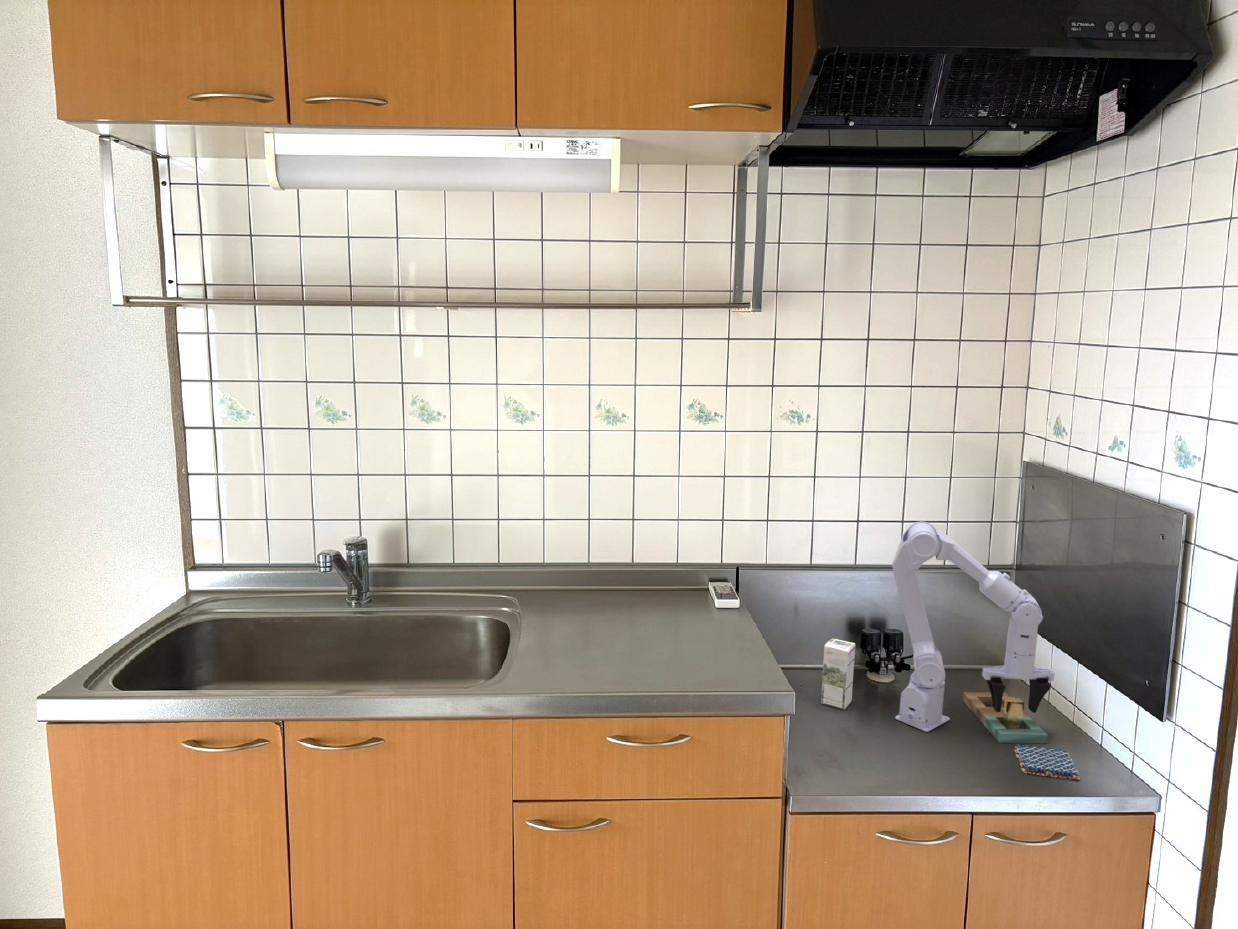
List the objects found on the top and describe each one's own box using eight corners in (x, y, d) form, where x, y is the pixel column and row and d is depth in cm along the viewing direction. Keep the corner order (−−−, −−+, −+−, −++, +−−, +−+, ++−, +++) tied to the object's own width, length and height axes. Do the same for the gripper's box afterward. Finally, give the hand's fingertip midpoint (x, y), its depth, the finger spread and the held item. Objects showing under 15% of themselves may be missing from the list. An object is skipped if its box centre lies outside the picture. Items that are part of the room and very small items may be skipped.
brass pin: (1016, 737, 182) (1019, 706, 181) (998, 730, 185) (1001, 700, 183) (1024, 731, 184) (1027, 701, 183) (1007, 725, 187) (1010, 695, 186)
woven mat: (1067, 757, 175) (1068, 748, 174) (1080, 784, 164) (1082, 775, 164) (1012, 750, 177) (1013, 741, 177) (1022, 776, 167) (1023, 767, 167)
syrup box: (852, 701, 197) (856, 642, 195) (844, 711, 192) (848, 650, 190) (828, 695, 200) (832, 636, 198) (819, 704, 195) (823, 644, 193)
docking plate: (1046, 743, 179) (1047, 734, 179) (999, 742, 179) (1000, 733, 179) (1005, 700, 199) (1005, 692, 198) (962, 700, 199) (963, 692, 199)
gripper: (1045, 644, 185) (1039, 702, 187) (978, 643, 185) (973, 701, 187) (1062, 657, 178) (1055, 717, 180) (992, 655, 178) (986, 716, 180)
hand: (1014, 710), depth 183 cm, fingers open, 7 cm apart
